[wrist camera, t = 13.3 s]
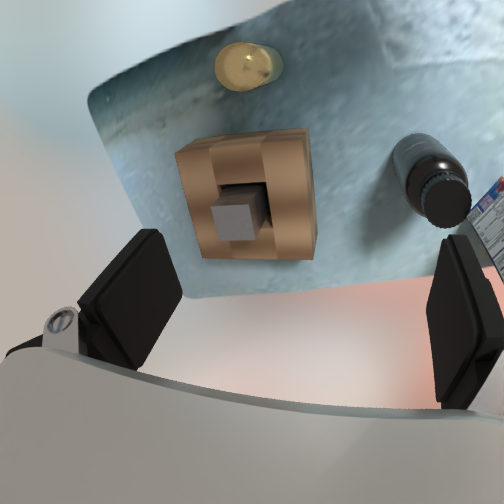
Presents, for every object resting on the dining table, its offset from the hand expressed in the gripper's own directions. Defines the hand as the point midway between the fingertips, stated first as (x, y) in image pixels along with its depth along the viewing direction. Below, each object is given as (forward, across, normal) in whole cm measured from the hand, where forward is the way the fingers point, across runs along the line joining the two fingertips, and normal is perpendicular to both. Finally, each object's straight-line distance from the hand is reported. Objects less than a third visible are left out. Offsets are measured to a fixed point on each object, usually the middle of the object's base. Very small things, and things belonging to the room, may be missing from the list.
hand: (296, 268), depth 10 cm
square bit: (+28, +10, +10) cm, 31 cm away
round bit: (+29, +7, -6) cm, 30 cm away
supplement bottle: (+28, -10, +6) cm, 31 cm away
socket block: (+28, +10, +10) cm, 31 cm away
